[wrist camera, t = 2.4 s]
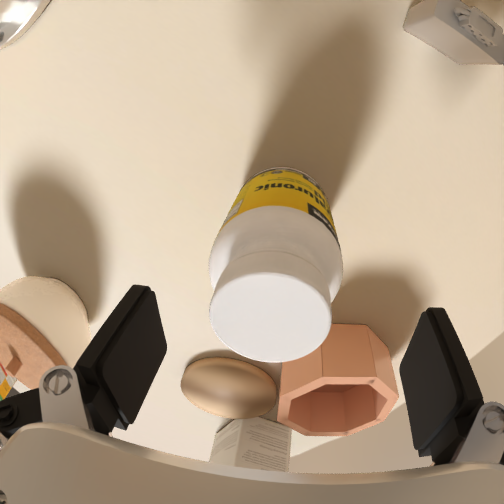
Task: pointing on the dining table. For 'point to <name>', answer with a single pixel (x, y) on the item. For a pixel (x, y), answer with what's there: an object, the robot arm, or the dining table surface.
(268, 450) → the skincare box
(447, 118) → the dining table surface
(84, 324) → the lidded jar
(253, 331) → the supplement bottle
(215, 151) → the dining table surface
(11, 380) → the crayon box
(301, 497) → the robot arm
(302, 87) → the dining table surface
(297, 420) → the terracotta octagonal planter pot
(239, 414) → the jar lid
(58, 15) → the dining table surface
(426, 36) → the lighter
